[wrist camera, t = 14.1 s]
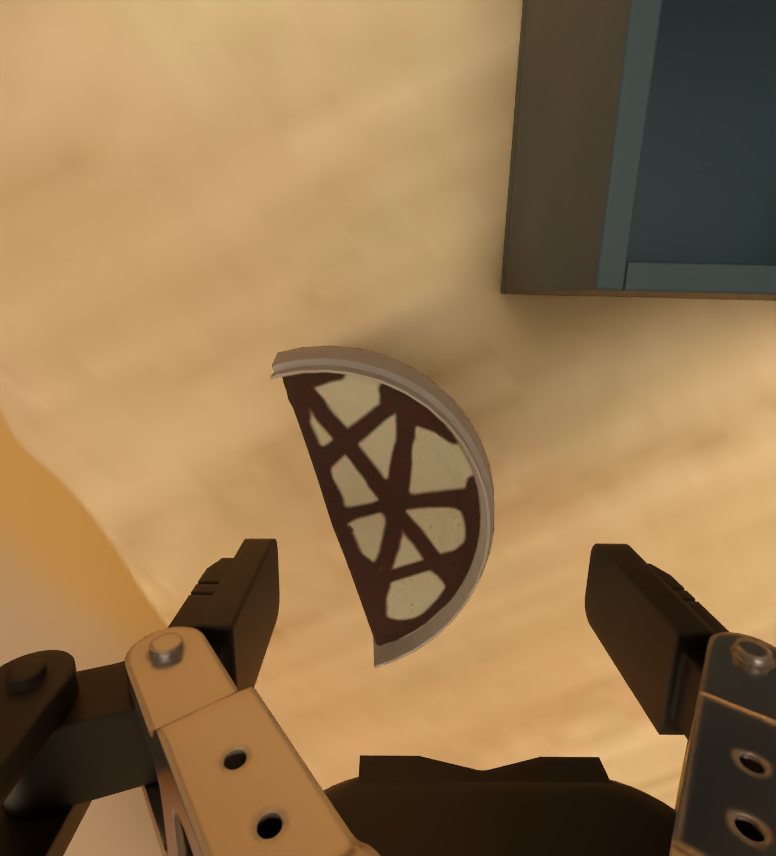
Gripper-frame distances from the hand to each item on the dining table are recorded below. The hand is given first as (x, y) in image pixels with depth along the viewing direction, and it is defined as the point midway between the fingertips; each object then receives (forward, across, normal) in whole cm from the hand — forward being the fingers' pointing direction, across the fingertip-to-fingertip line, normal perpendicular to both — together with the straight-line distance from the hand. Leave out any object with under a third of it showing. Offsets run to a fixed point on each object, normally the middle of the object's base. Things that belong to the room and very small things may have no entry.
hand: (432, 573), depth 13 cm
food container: (+14, 0, 0) cm, 14 cm away
